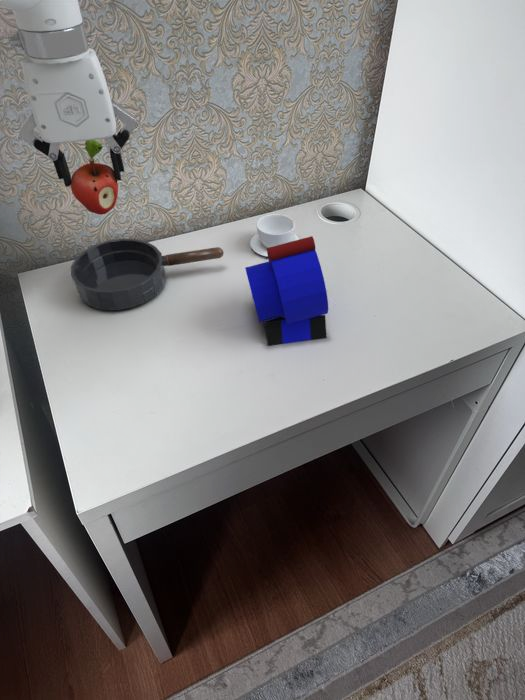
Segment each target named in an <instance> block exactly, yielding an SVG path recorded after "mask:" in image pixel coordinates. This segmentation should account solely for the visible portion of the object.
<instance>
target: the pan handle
mask: <svg viewBox="0 0 525 700" xmlns="http://www.w3.org/2000/svg"><path fill="white" fill-rule="evenodd" d="M223 256H224V250H223V249H222V248H221V247H219V246H216V247H209V248H202V249H196V250H190V251H182V252H176V253H170V254H169V253H168V254H164V255H162V260H163V265H164V267H172V266H178V265H185V264H190V263H192V264H193V263H197V262H204V261H211V260H218V259H221V258H222V257H223Z"/></svg>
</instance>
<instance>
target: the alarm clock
mask: <svg viewBox="0 0 525 700" xmlns="http://www.w3.org/2000/svg"><path fill="white" fill-rule="evenodd" d="M315 242H316V241H315V239H314V237H313V235H311V236H307V237H303V238H299V240H296V241H292V242H288V243H284V244H280V245H277V246H273V247H269V248H267V254H268V257H267V260H268V261H265V262H261V263H257V264H254V265H251V266H246V267H244V269H245V274H246V277H247V281H248V285H249V289H250V291H251V296H252V300H253V304H254V307H255V308H254V309H255V311H256V315H257V318H258V322H259V323H263V327H264V332H265V337H266V338H265V339H266V342H267V343H266V344H267V347H269V346H270V347H271V346H276V345H284V344H285V345H286V344H292V343H299V342H306V341H315V340H320V339H327V323H326V322H327V321H326V315H327V314H329V300H328V293H327V292H328V291H327V287H326V282H325V278H324V274H323V270H322V265H321V262H320V259H319V256H318V254H317V250H316V243H315ZM278 318H283V319H281V320H274V319H278ZM271 320H274V321H271ZM267 321H268V322H267Z"/></svg>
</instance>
